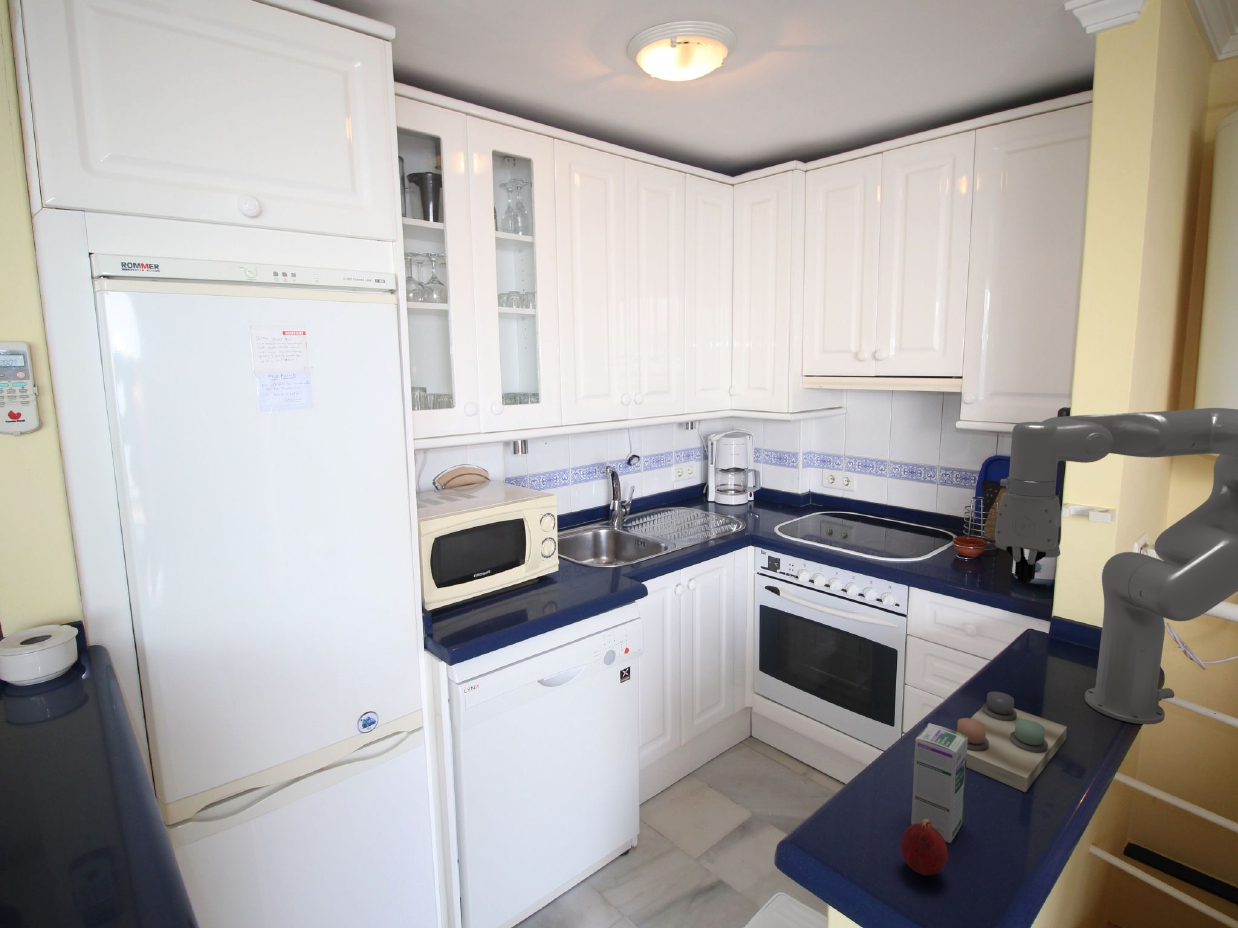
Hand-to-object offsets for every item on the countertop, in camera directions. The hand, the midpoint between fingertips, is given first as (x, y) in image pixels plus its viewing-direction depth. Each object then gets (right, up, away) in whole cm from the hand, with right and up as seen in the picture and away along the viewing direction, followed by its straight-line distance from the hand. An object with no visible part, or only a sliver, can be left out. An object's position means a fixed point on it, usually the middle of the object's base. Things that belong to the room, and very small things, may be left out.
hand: (1024, 581), depth 125 cm
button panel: (-9, -28, -8) cm, 31 cm away
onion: (-37, -33, -37) cm, 62 cm away
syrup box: (-30, -32, -27) cm, 52 cm away
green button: (-6, -25, -11) cm, 28 cm away
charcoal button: (-6, -24, -2) cm, 24 cm away
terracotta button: (-16, -25, -11) cm, 32 cm away
